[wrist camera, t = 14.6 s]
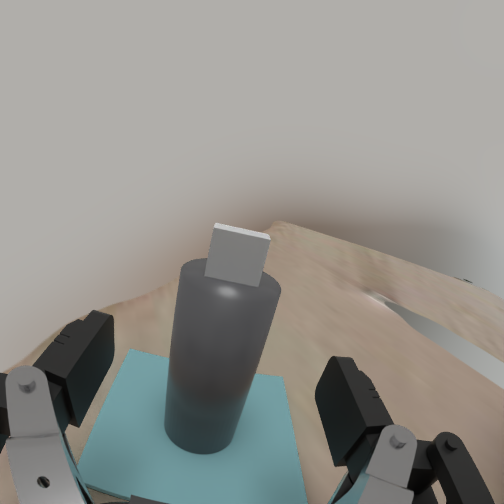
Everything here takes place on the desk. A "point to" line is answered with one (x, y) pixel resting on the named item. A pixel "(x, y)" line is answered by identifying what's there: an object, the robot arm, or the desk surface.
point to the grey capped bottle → (218, 338)
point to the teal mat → (183, 462)
